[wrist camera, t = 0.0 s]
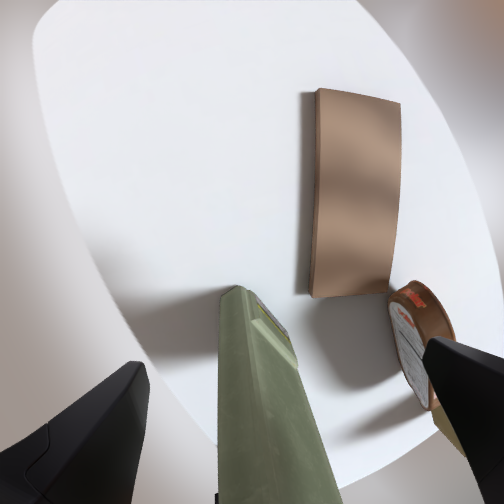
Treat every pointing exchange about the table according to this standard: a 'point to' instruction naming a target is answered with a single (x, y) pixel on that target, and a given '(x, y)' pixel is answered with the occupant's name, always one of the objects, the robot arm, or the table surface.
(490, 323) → the table surface
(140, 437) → the robot arm
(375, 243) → the walnut board
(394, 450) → the table surface
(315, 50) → the table surface
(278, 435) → the handheld radio
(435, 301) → the tin
